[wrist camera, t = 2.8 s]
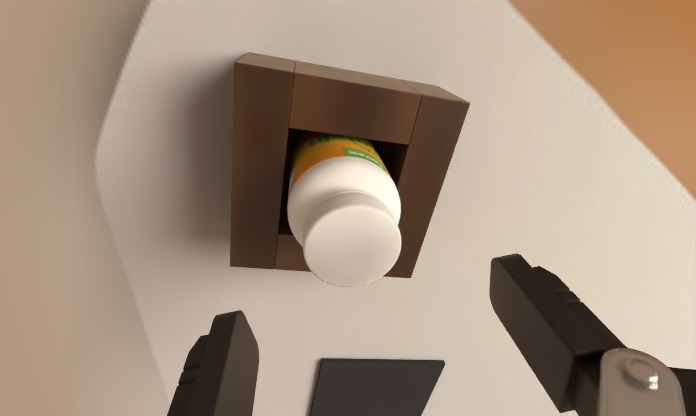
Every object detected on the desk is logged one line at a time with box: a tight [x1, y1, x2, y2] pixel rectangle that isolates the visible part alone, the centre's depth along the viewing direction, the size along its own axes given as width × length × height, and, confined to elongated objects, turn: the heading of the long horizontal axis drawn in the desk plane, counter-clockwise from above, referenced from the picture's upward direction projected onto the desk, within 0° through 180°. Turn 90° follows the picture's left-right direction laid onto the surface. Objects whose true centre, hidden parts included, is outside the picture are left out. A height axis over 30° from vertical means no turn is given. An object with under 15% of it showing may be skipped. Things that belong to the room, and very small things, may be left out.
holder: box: [230, 53, 470, 278], centre depth 20 cm, size 11×11×4 cm
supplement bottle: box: [287, 130, 401, 287], centre depth 18 cm, size 5×5×10 cm
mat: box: [310, 359, 445, 416], centre depth 35 cm, size 12×12×1 cm
